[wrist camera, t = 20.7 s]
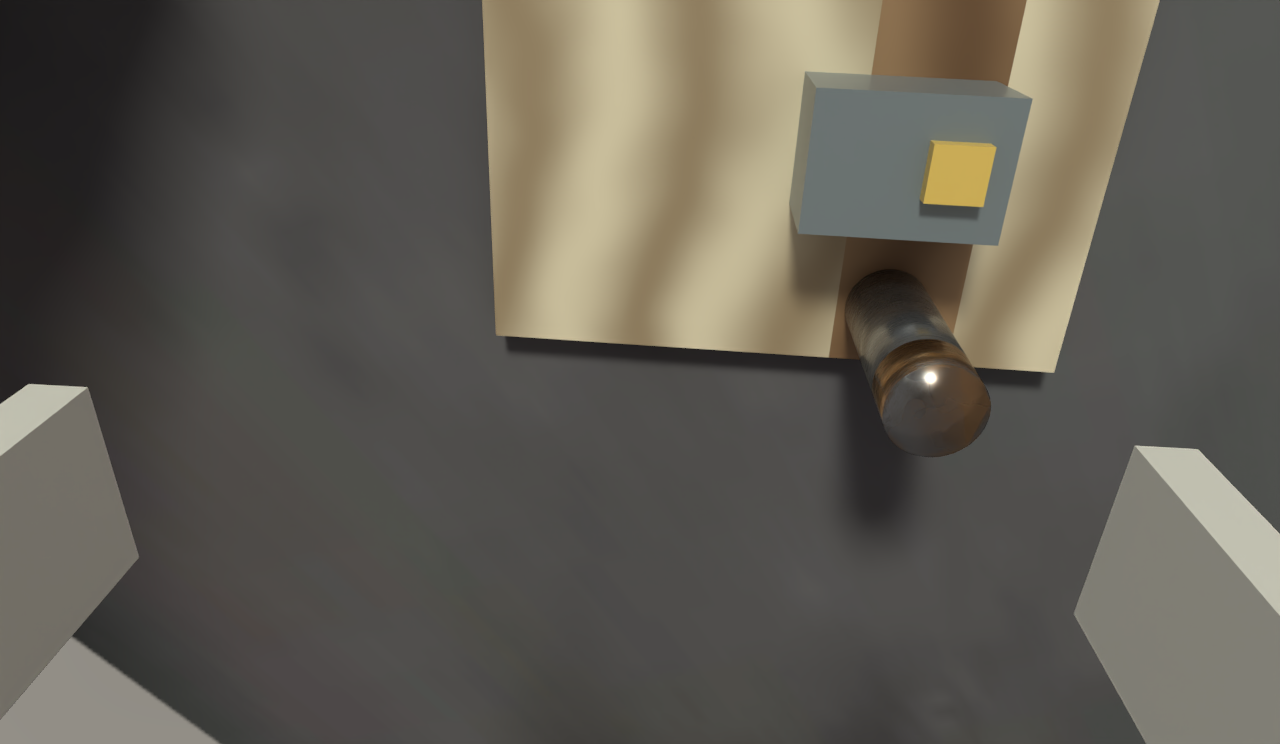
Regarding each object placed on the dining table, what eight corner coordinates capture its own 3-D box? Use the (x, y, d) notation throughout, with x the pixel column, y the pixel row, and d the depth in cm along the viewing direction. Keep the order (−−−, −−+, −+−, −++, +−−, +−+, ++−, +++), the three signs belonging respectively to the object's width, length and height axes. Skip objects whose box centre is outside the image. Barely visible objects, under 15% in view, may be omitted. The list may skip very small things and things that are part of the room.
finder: (789, 203, 34) (799, 238, 30) (805, 71, 32) (818, 90, 28) (967, 213, 34) (1003, 251, 30) (996, 81, 32) (1038, 101, 27)
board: (502, 324, 39) (495, 335, 38) (487, -74, 32) (479, -75, 31) (1044, 360, 38) (1053, 372, 37) (1156, -47, 30) (1172, -46, 29)
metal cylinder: (839, 342, 37) (874, 453, 29) (851, 266, 35) (891, 361, 27) (920, 347, 36) (978, 460, 28) (935, 271, 35) (1001, 368, 27)
